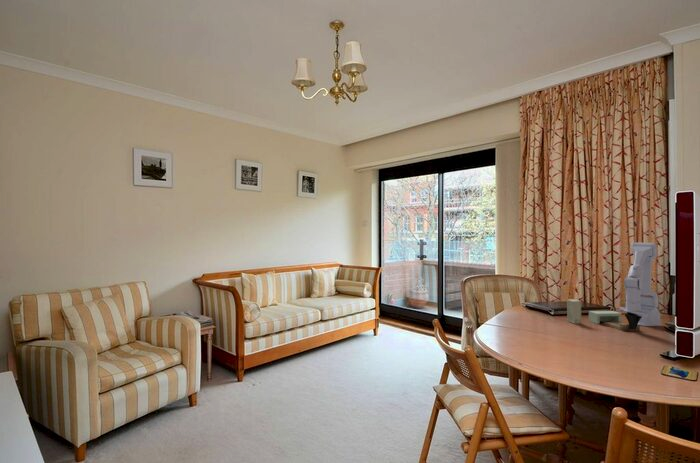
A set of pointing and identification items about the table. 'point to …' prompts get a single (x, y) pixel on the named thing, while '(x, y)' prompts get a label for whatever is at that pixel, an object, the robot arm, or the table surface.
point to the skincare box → (574, 311)
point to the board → (621, 326)
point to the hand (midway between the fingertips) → (633, 328)
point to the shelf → (604, 316)
